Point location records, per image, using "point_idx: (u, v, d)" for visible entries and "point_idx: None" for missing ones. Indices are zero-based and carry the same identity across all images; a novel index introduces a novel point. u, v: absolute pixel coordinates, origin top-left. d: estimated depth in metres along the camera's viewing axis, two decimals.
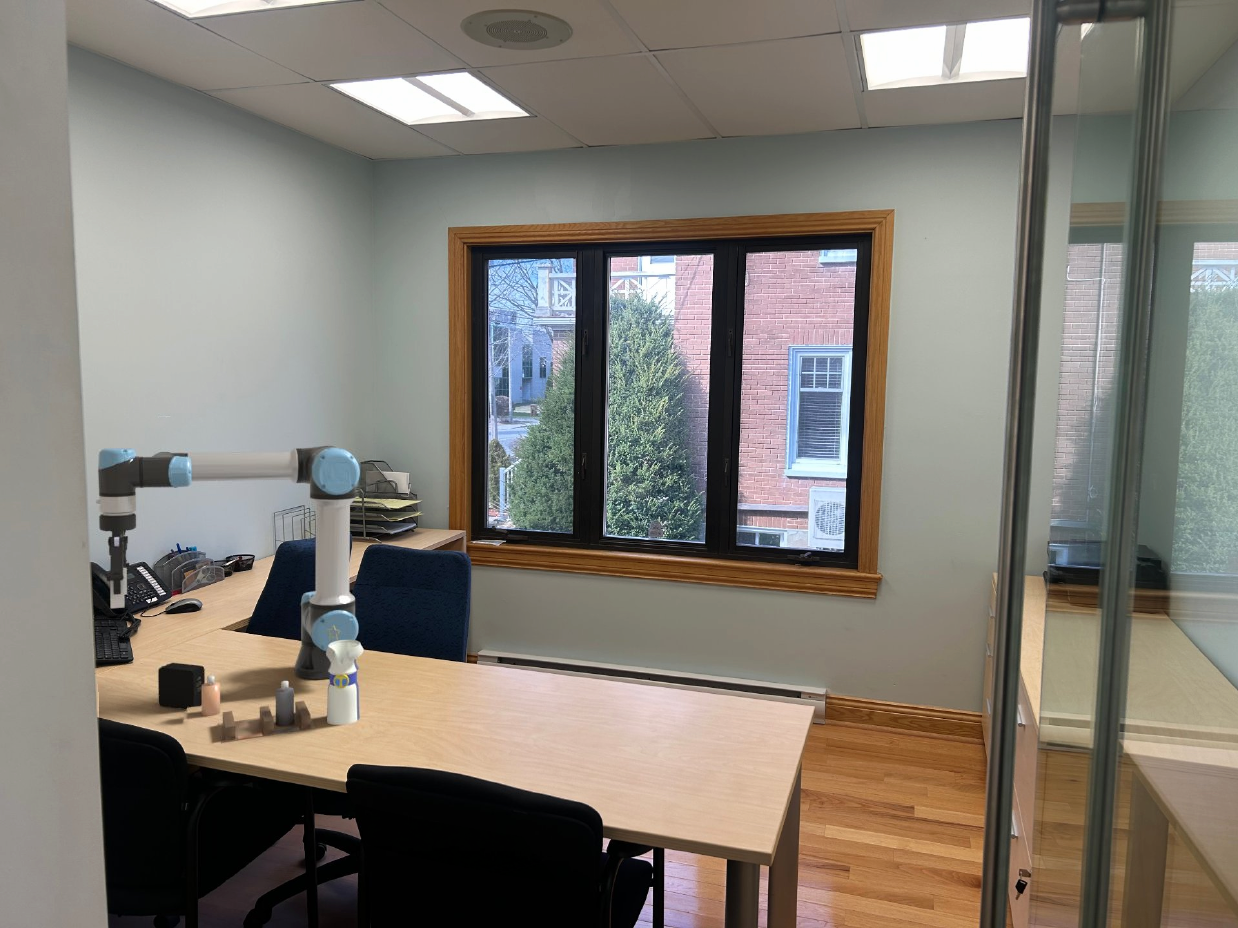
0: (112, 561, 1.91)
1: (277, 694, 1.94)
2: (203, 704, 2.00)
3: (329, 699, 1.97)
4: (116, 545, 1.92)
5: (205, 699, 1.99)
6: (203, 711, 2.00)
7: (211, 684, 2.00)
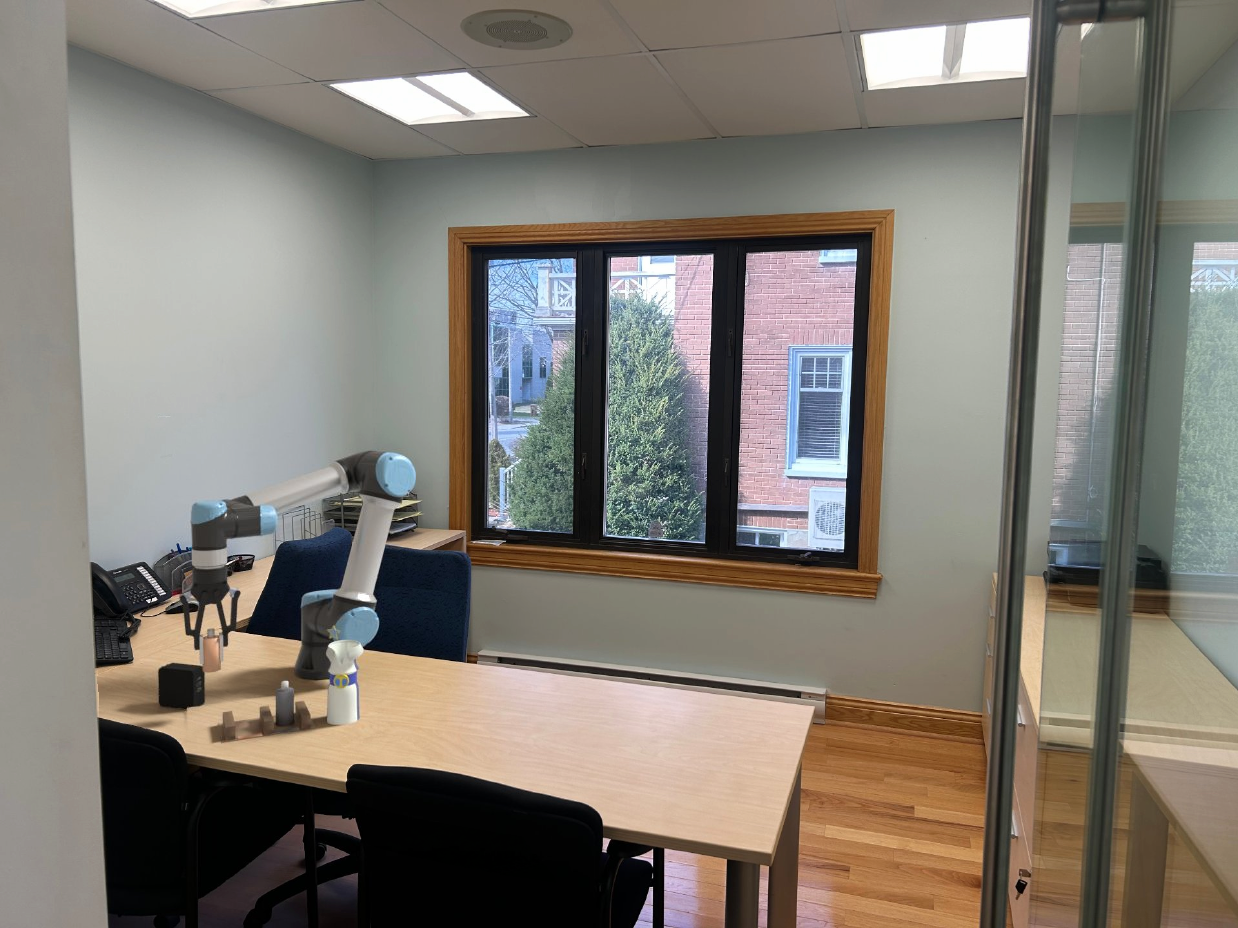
0: None
1: (277, 694, 1.94)
2: (204, 656, 1.99)
3: (329, 699, 1.97)
4: None
5: (205, 651, 1.98)
6: (204, 664, 1.99)
7: (211, 637, 2.00)
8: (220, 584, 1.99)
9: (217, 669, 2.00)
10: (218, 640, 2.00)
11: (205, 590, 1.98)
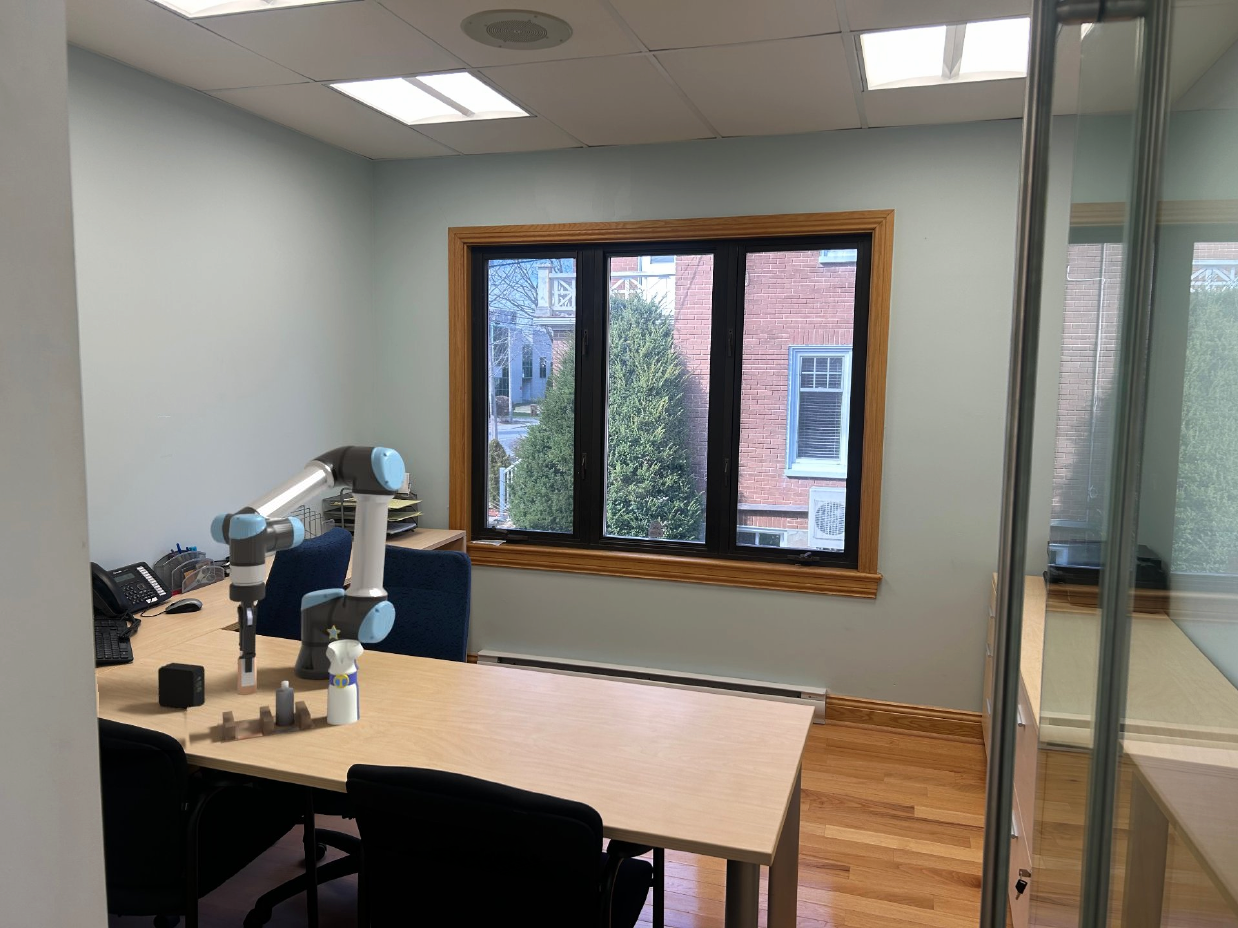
0: (245, 640, 1.86)
1: (277, 694, 1.94)
2: None
3: (329, 699, 1.97)
4: (249, 624, 1.85)
5: (255, 671, 1.91)
6: (253, 685, 1.91)
7: None
8: None
9: None
10: None
11: None
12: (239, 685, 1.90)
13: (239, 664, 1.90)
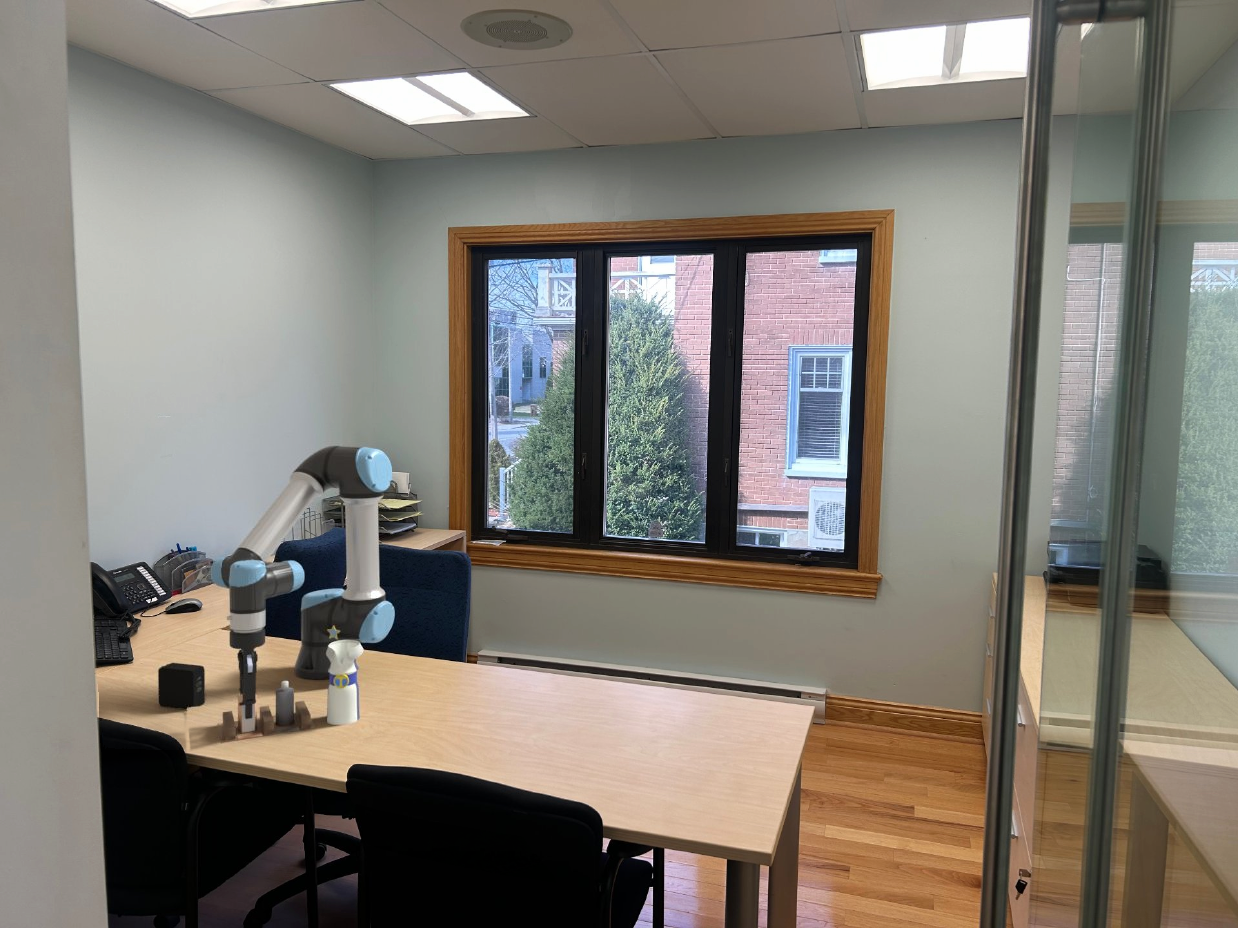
0: (245, 688, 1.86)
1: (277, 694, 1.94)
2: None
3: (329, 699, 1.97)
4: (249, 672, 1.86)
5: (255, 708, 1.92)
6: None
7: None
8: None
9: None
10: None
11: (253, 653, 1.91)
12: (240, 723, 1.90)
13: None
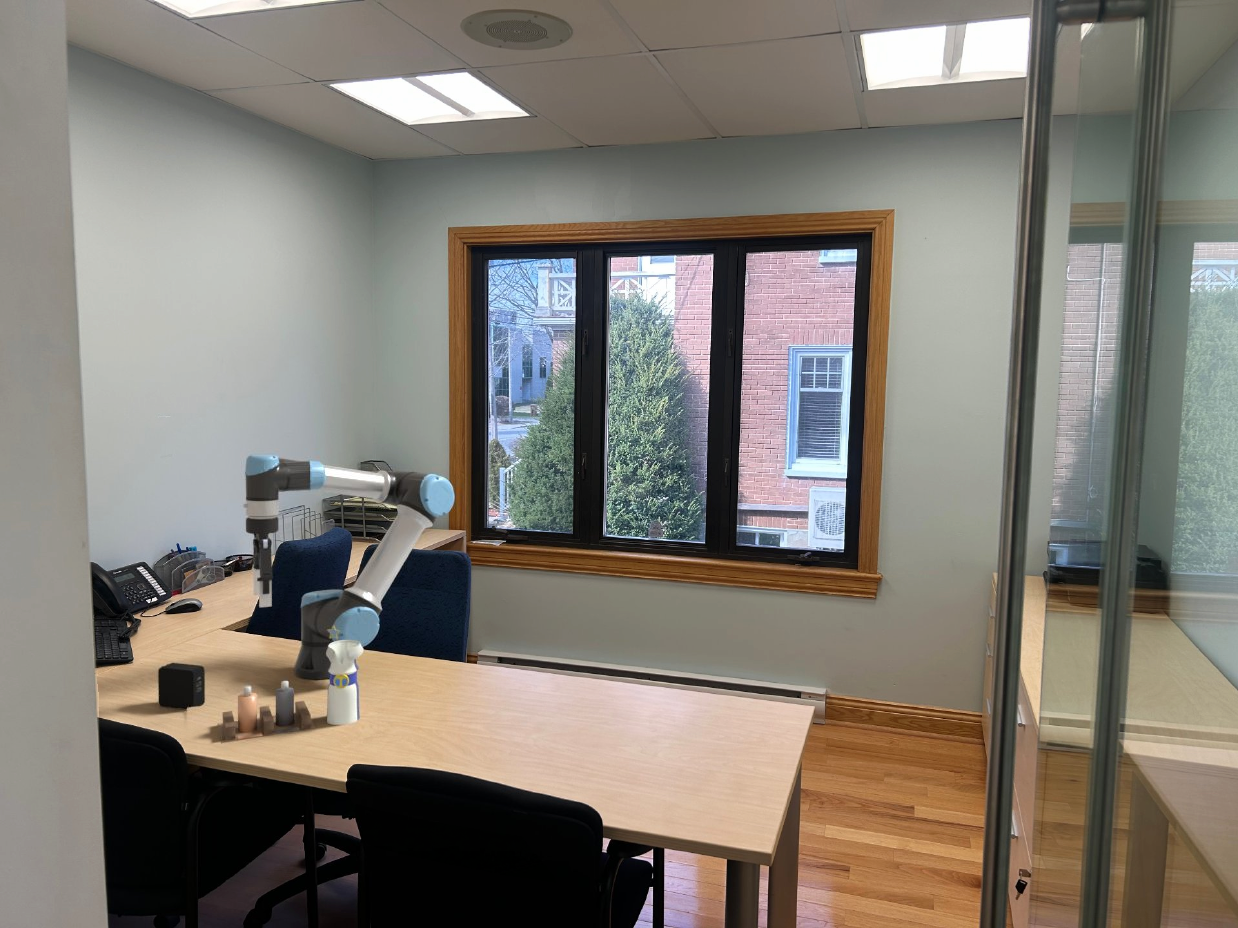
0: (262, 562, 2.00)
1: (277, 694, 1.94)
2: (253, 715, 1.91)
3: (329, 699, 1.97)
4: (265, 547, 2.02)
5: (255, 708, 1.92)
6: (253, 722, 1.92)
7: None
8: None
9: None
10: None
11: None
12: (240, 723, 1.91)
13: (240, 702, 1.90)
